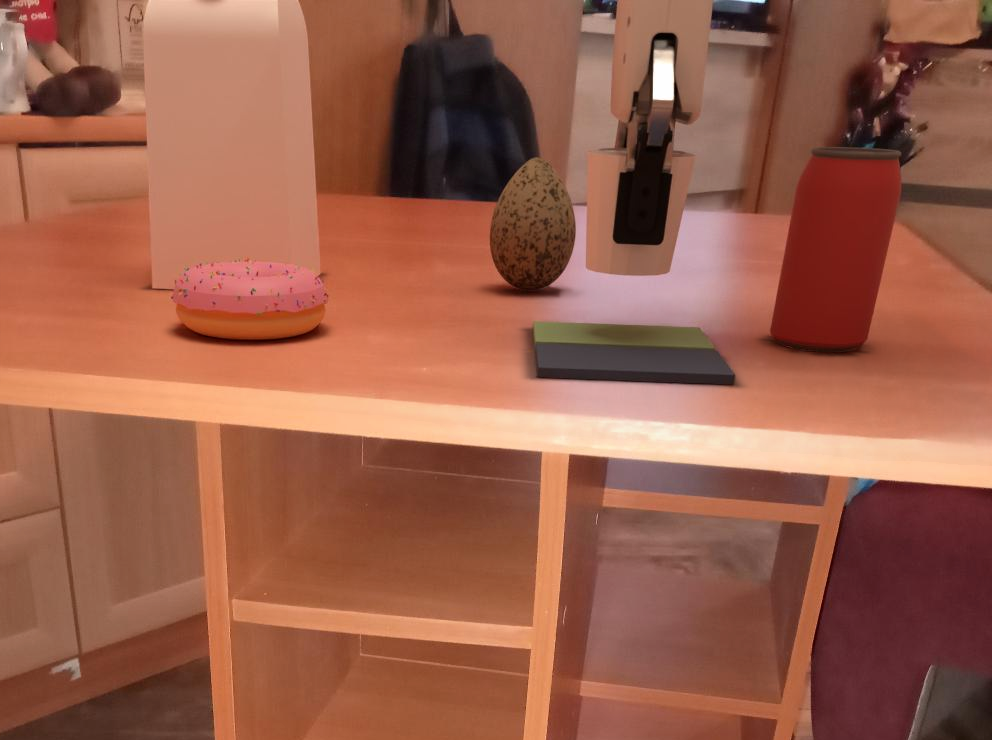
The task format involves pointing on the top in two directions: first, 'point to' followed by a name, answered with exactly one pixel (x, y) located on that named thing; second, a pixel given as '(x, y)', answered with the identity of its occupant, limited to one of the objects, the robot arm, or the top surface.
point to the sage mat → (620, 335)
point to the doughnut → (250, 300)
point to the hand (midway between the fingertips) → (631, 234)
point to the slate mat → (632, 364)
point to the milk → (228, 135)
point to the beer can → (836, 248)
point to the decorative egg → (533, 227)
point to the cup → (601, 216)
